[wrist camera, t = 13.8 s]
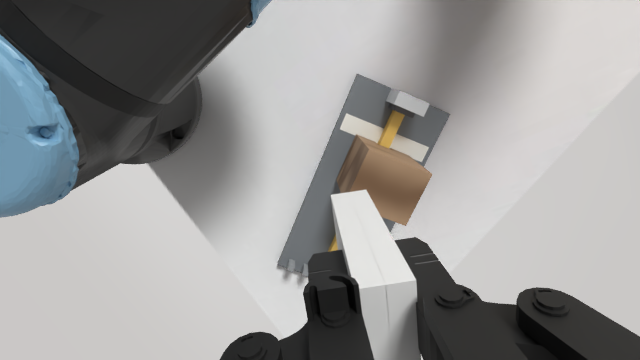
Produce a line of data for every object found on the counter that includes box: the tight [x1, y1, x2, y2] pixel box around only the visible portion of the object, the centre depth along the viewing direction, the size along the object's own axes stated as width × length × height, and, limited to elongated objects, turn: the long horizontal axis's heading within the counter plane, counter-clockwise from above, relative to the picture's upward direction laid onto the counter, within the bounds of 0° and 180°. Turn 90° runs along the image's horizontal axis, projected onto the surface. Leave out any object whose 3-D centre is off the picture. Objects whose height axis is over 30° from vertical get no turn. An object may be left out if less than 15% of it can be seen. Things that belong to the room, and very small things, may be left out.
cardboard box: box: [336, 134, 432, 226], centre depth 39 cm, size 6×7×8 cm
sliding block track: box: [278, 74, 450, 277], centre depth 43 cm, size 26×12×4 cm, turn 158°
